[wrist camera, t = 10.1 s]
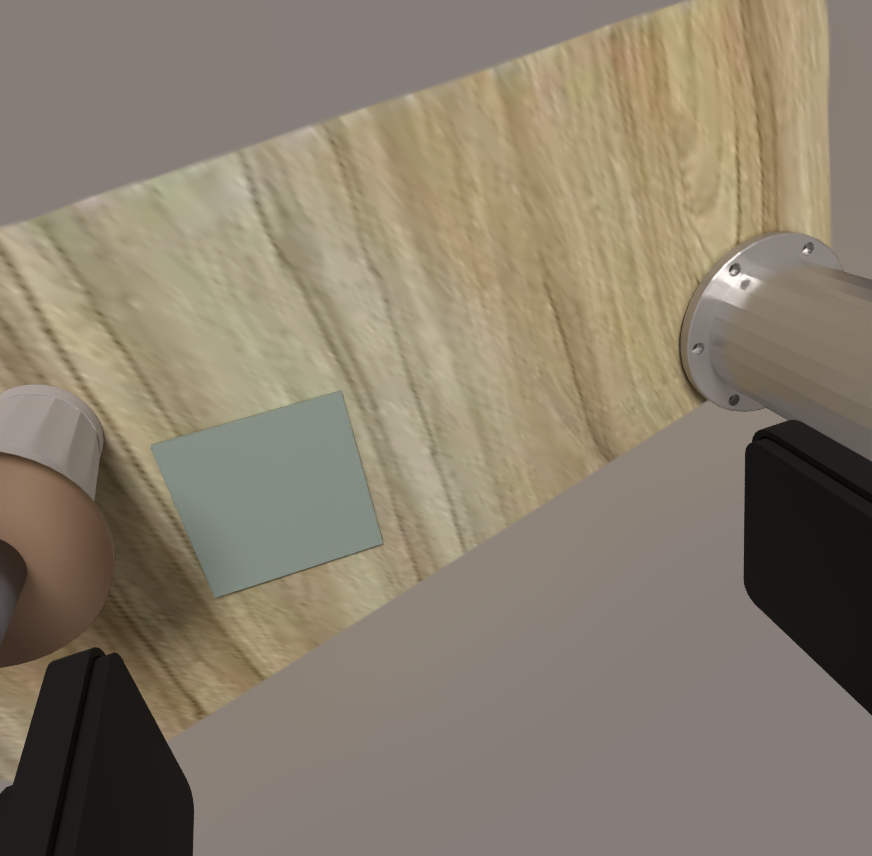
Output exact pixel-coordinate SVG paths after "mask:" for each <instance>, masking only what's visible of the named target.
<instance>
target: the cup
mask: <svg viewBox="0 0 872 856" xmlns="http://www.w3.org/2000/svg"><path fill="white" fill-rule="evenodd" d="M102 449H103V431H102V427H101V424H100V422H99V420H98V418H97V416H96V415H95V413H94V412H93V410H92V409H91V408H90V407H89V406H88V405H87V404H86V403H85V402H84V401H82V400H81V399H80V398H78V397H77V396H75V395H73V394H72V393H70V392H68V391H65V390H63V389H60V388H56V387H52V386H47V385H24V386H19V387H15V388H12V389H9V390H7V391H5V392H3V393H1V394H0V452H4V453H10V454H15V455H18V456H22V457H25V458H28V459H31V460H34V461H37V462H39V463H41V464H44V465H46V466H49V467H51V468H52V469H54V470H56V471H58V472H60V473H61V474H63V475H65V476H66V477H68V478H69V479H70V480H72V481H73V482H75V483H76V484H77V485H79V486H80V487H81V488H82V489H83V490H84V491H85V492H86V493H87V494H88V495H89V496H90V497H91V498H92V499H93V501H95V493H96V484H97V476H98V468H99V460H100V456H101V453H102Z"/></svg>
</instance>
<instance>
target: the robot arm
mask: <svg viewBox="0 0 872 856" xmlns="http://www.w3.org/2000/svg"><path fill="white" fill-rule="evenodd" d="M681 357H682V362H683V367H684V370H685V372H686V375H687V377H688V379H689V381H690V382H691V384H692V385H693V387H694V388H695V389H696V391H697V392H699V393H700V394H701V395H702V396H703V397H705V398H706V399H707V400H709V401H711V402H712V403H714V404H716V405H717V406H719V407H722V408H725V409H728V410H731V411H744V412H746V411H752V410H753V411H754V410H760V409H763V408H768V409H770V410H771V411H773V412H775V413H777V414H778V415H780V416H782V417H783V418H785V419H787V420H789V421H786V422H783V423H780V424H776V425H773V426H770V427H767V428H764V429H761V430H759V431H757V432H756V433H755V435H754V436H753V440H752V443H750V444H749V445H748V446H747V448H746V452H745V513H744V518H745V519H744V585H745V588H746V591H747V593H748V595H749V596H750V598H751V600H752V601H753V602H754V604H755V605H756V606H757V607H758V608H760V609H761V610H762V611H763V612H764V613H765V614H766V615H767V616H768V617H769V618H770V619H771V620H772V621H773V622H774V623H775V624H776V625H777V626H778V627H779V628H781V629H782V630H783V631H784V632H785V633H786V634H787V635H788V636H789V637H790V638H791V639H792V640H793V641H794V642H795V643H796V644H797V645H798V646H799V647H800V648H802V649H803V650H804V651H805V652H806V653H807V654H808V655H809V656H810V657H811V658H812V659H813V660H814V661H815V662H816V663H817V664H818V665H820V666H821V667H822V668H823V669H824V670H825V671H826V672H827V673H828V674H829V675H830V676H831V677H832V678H833V679H834V680H835V681H836V682H837V683H838V684H839V685H841V687H843V688H844V689H845V690H846V691H847V692H848V693H849V694H850V695H851V696H852V697H853V698H854V699H855V700H856V701H857V702H858V703H859V704H861V706H863V707H864V708H865V709H866V710H867V711H868V712H869V713H870V714H871V715H872V280H871V279H867V278H864V277H860V276H857V275H854V274H850V273H847V272H844V269H843V267H842V265H841V263H840V261H839V259H838V257H837V256H836V254H835V253H834V252H833V251H832V250H831V249H830V248H829V247H828V246H827V245H826V244H824V243H823V242H821V241H820V240H818V239H817V238H814V237H811V236H808V235H804V234H801V233H795V232H790V231H778V232H769V233H766V234H762V235H758V236H755V237H753V238H751V239H749V240H747V241H745V242H743V243H741V244H739V245H738V246H736V247H735V248H734V249H732V250H731V251H729V252H728V253H727V254H725V255H724V256H723V257H722V258H721V259H720V260H719V261H718V262H717V263H716V264H715V265H714V266H713V267H712V268H711V269H710V270H709V272H708V273H707V274H706V276H705V277H704V279H703V280H702V281H701V283H700V284H699V286H698V288H697V289H696V291H695V293H694V295H693V297H692V299H691V301H690V303H689V306H688V309H687V311H686V314H685V317H684V321H683V327H682V332H681ZM193 827H194V804H193V797H192V793H191V789H190V786H189V784H188V782H187V779H186V777H185V776H184V774H183V772H182V770H181V768H180V766H179V764H178V763H177V761H176V759H175V757H174V755H173V753H172V751H171V749H170V748H169V746H168V744H167V742H166V740H165V738H164V736H163V734H162V733H161V731H160V729H159V727H158V725H157V723H156V721H155V719H154V718H153V716H152V714H151V712H150V710H149V708H148V706H147V705H146V703H145V701H144V699H143V697H142V695H141V693H140V692H139V690H138V688H137V686H136V684H135V682H134V680H133V678H132V677H131V675H130V673H129V671H128V669H127V667H126V665H125V664H124V662H123V660H122V658H121V657H120V655H118V654H117V653H112V654H109V655H105V654H104V652H103V651H102V650H101V649H100V648H96V647H94V648H91V649H88V650H85V651H82V652H79V653H76V654H73V655H70V656H67V657H64V658H61V659H58V660H55V661H52V662H51V663H50V664H49V665H48V667H47V669H46V672H45V676H44V679H43V683H42V686H41V690H40V693H39V697H38V700H37V703H36V707H35V710H34V714H33V717H32V721H31V724H30V728H29V731H28V734H27V738H26V741H25V745H24V748H23V752H22V755H21V759H20V762H19V765H18V769H17V772H16V776H15V779H14V783H13V785H11V786H9V787H6V788H5V789H4V791H2V793H1V794H0V856H193Z"/></svg>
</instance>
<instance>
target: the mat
mask: <svg viewBox="0 0 872 856" xmlns="http://www.w3.org/2000/svg"><path fill="white" fill-rule="evenodd" d="M151 450H152V452H153V455H154V457H155V459H156V462H157V464H158V466H159V469H160V471H161V473H162V476H163V478H164V480H165V483H166V485H167V487H168V490H169V492H170V494H171V497H172V499H173V501H174V504H175V506H176V508H177V511H178V513H179V515H180V518H181V520H182V522H183V525H184V527H185V529H186V532H187V534H188V536H189V539H190V541H191V543H192V546H193V548H194V550H195V553H196V555H197V557H198V560H199V562H200V564H201V567H202V569H203V571H204V574H205V576H206V578H207V581H208V583H209V585H210V588H211V590H212V592H213V595H214V597H215V598H217V597H220V596H223V595H226V594H229V593H232V592H235V591H238V590H242V589H245V588H248V587H251V586H254V585H257V584H260V583H263V582H266V581H269V580H272V579H275V578H279V577H282V576H285V575H288V574H291V573H294V572H297V571H300V570H303V569H306V568H309V567H312V566H316V565H319V564H322V563H325V562H328V561H331V560H334V559H337V558H340V557H343V556H346V555H349V554H353V553H356V552H359V551H362V550H365V549H368V548H371V547H374V546H377V545H380V544H383V541H382V538H381V534H380V530H379V527H378V523H377V520H376V516H375V512H374V509H373V505H372V501H371V498H370V494H369V490H368V487H367V483H366V480H365V476H364V472H363V469H362V465H361V461H360V458H359V454H358V450H357V447H356V443H355V440H354V436H353V432H352V429H351V425H350V421H349V418H348V414H347V410H346V407H345V403H344V400H343V396H342V393H341V391H337V392H334V393H330V394H327V395H323V396H320V397H316V398H313V399H309V400H306V401H302V402H299V403H295V404H292V405H288V406H285V407H281V408H278V409H274V410H271V411H268V412H264V413H261V414H257V415H254V416H250V417H247V418H243V419H240V420H236V421H233V422H229V423H226V424H222V425H219V426H215V427H212V428H208V429H205V430H201V431H198V432H194V433H191V434H187V435H184V436H180V437H177V438H173V439H170V440H166V441H163V442H159V443H156V444H152V445H151Z"/></svg>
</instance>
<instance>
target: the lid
mask: <svg viewBox="0 0 872 856" xmlns="http://www.w3.org/2000/svg"><path fill="white" fill-rule="evenodd" d="M115 558H116V557H115V544H114V540H113V536H112V532H111V529H110V527H109V524H108V522H107V520H106V518H105V516H104V515H103V513H102V511H101V510H100V508H99V507H98V505H97V504H96V503H95V502H94V501H93V499H92V498H91V497H90V496H89V495H88V494H87V493H86V492H85V491H84V490H83V489H82V488H81V487H80V486H79V485H77V484H76V483H75V482H73V481H72V480H70V479H69V478H68V477H66V476H65V475H63V474H61V473H60V472H58V471H56V470H54V469H52V468H51V467H49V466H46V465H44V464H41V463H39V462H37V461H34V460H31V459H28V458H25V457H22V456H18V455H15V454H10V453H4V452H0V668H2V667H8V666H13V665H19V664H22V663H26V662H29V661H33V660H36V659H38V658H41V657H43V656H46V655H48V654H51V653H53V652H54V651H56V650H58V649H60V648H62V647H64V646H65V645H67V644H68V643H70V642H71V641H73V640H74V639H76V638H77V637H78V636H79V635H80V634H81V633H82V632H84V631H85V630H86V629H87V628H88V627H89V626H90V624H91V623H92V622H93V621H94V620H95V619H96V617H97V616H98V614H99V613H100V611H101V610H102V608H103V606H104V604H105V602H106V599H107V597H108V594H109V591H110V587H111V583H112V579H113V574H114V568H115Z"/></svg>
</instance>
